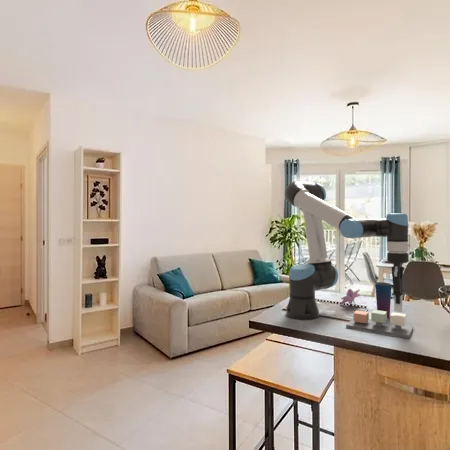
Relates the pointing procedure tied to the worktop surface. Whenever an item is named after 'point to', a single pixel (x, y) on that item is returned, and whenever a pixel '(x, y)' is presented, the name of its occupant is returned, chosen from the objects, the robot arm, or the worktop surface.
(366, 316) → the terracotta key
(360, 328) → the board
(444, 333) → the worktop surface
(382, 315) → the sage key
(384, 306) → the cup
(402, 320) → the cream key
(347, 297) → the lily
